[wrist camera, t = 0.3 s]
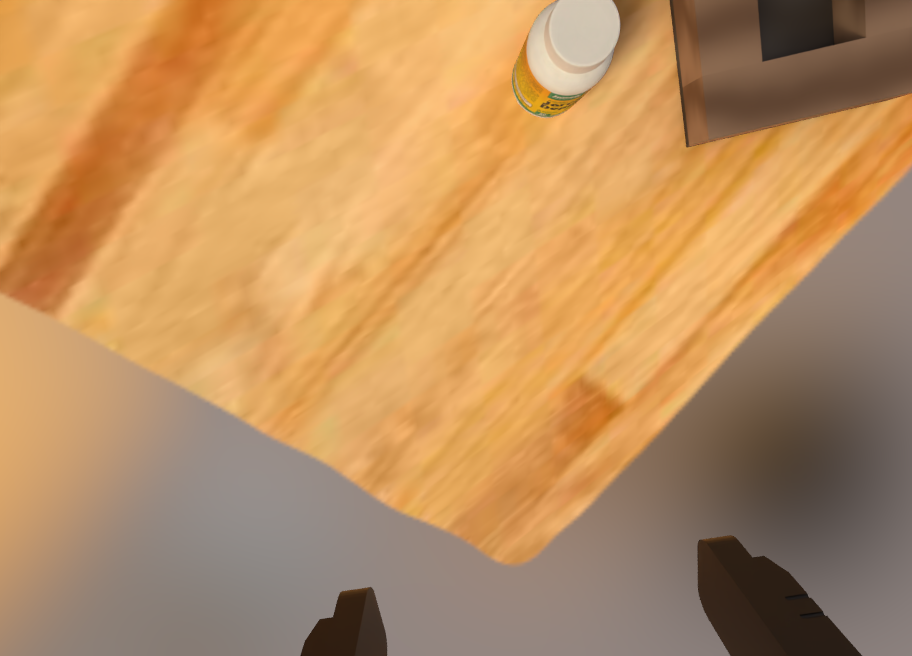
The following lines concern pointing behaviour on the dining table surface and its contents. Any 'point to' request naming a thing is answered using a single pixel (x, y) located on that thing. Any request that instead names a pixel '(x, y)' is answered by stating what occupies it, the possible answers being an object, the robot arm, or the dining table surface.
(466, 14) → the dining table surface
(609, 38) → the supplement bottle
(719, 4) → the socket block
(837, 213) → the dining table surface
